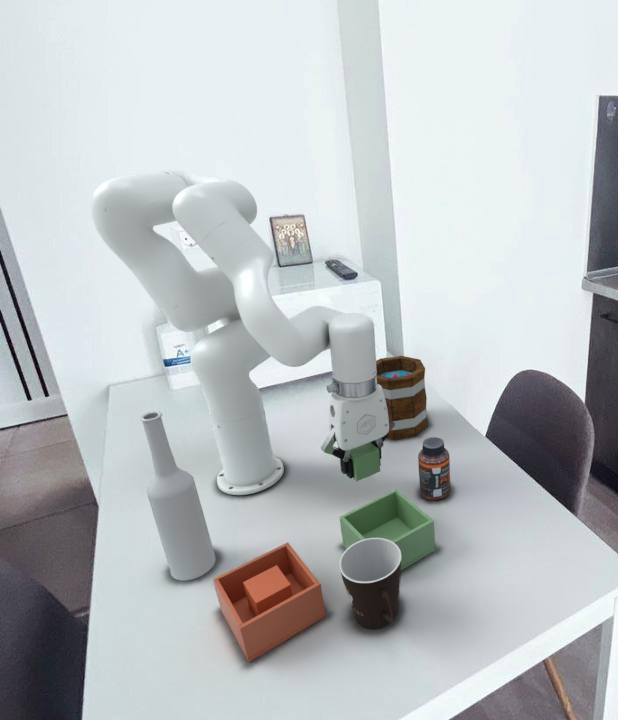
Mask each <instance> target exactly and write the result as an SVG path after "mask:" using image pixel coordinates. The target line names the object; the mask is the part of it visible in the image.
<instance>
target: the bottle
mask: <svg viewBox="0 0 618 720" xmlns="http://www.w3.org/2000/svg"><path fill="white" fill-rule="evenodd" d="M162 417H163V413H162V411H160V410H159V411H158V410H155V411H152V410H151V411H148V412H146V413H143V414H142V415H141V416H140V417H139V419H140V421H141V422H142V426H143V430H144V432H145V433H144V434H145V436H146V440H147V443H148V447H149V451H150V454H151V460H152V464H153V468H154V476H153V477H152V479H151V480H150V482H149V483H148V486H147V489H146V495H147V498H148V501H149V505H150V510H151V512H152V515H153V518H154V522H155V526H156V529H157V532H158V536H159V539H160V542H161V546H162V550H163V552H164V556H165V559H166V562H167V565H168V567H169V571H170V575H171V577H172V578H173V579H174V580H177V581H181V582H184V581H187V582H188V581H192V580H194V579H198V578H200V577H203V576H204V575H205V574H207V573H208V572H210V570H211V569H213V567H214V566H215V564H216V560H217V559H216V555H215V551H214V547H213V543H212V539H211V535H210V531H209V527H208V524H207V522H206V517H205V514H204V509H203V507H202V504H201V499H200V495H199V492H198V489H197V485H196V481H195V477H194V476H193V475H192V474H191V473H190V472H188V471H186V470H184V469H182V468H180V467H178V465H177V463H176V460H175V457H174V455H173V451H172V449H171V446H170V442H169V440H168V435H167V433H166V429H165V426H164V422H163V419H162Z"/></svg>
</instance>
